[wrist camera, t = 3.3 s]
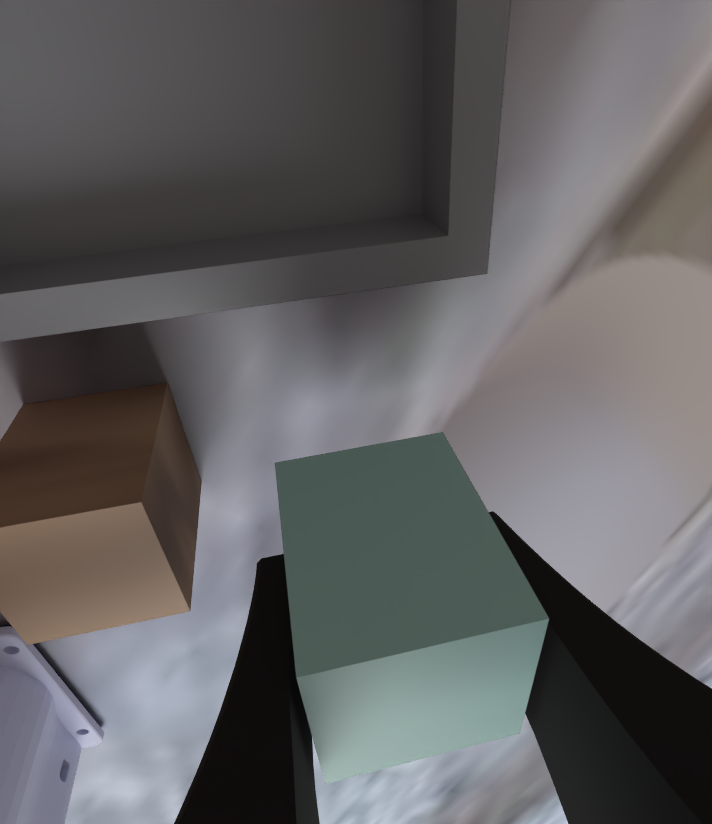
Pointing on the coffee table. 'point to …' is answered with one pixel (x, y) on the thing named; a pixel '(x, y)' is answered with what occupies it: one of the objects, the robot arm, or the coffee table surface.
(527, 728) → the coffee table surface
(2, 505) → the walnut block
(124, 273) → the tray
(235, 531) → the coffee table surface
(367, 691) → the teal block
